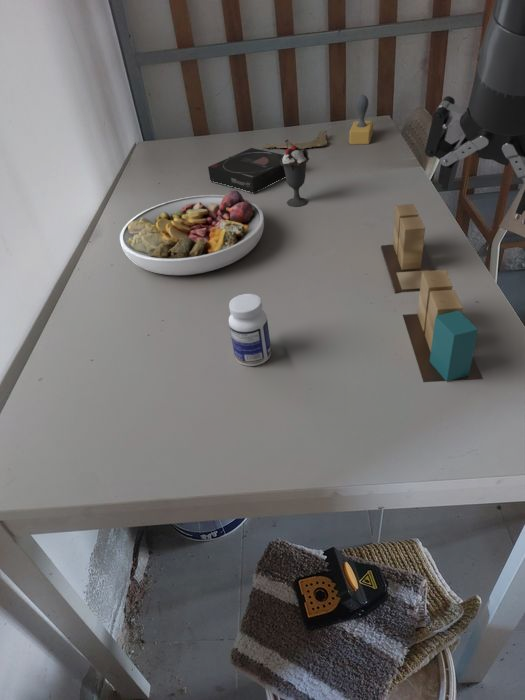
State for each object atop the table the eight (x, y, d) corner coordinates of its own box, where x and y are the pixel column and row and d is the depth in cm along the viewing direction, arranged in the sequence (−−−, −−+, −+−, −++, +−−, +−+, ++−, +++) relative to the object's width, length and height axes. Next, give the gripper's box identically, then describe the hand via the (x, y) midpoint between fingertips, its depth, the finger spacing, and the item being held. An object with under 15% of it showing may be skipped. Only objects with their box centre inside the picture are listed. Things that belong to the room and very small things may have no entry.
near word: (452, 314, 83) (460, 267, 78) (482, 382, 71) (494, 332, 65) (402, 317, 84) (406, 271, 78) (422, 385, 71) (429, 336, 66)
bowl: (186, 300, 94) (177, 262, 89) (99, 255, 112) (87, 221, 107) (294, 235, 110) (292, 200, 105) (203, 204, 127) (197, 173, 122)
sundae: (279, 207, 121) (274, 142, 112) (287, 196, 126) (283, 132, 117) (306, 209, 119) (303, 142, 110) (314, 197, 124) (311, 132, 115)
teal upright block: (450, 355, 75) (458, 310, 70) (468, 375, 71) (478, 329, 66) (429, 361, 74) (435, 316, 69) (446, 381, 71) (454, 335, 66)
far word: (421, 244, 102) (426, 202, 96) (443, 292, 88) (449, 247, 83) (380, 247, 102) (382, 206, 97) (395, 295, 89) (398, 250, 83)
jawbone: (337, 146, 152) (337, 139, 150) (270, 160, 149) (269, 153, 148) (326, 135, 158) (326, 128, 157) (262, 148, 155) (261, 142, 154)
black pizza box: (298, 171, 138) (297, 156, 136) (254, 194, 129) (252, 178, 127) (254, 161, 148) (253, 147, 145) (210, 181, 139) (208, 166, 136)
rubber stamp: (369, 144, 149) (370, 99, 142) (349, 144, 151) (349, 100, 143) (372, 133, 156) (374, 90, 149) (353, 133, 158) (354, 90, 150)
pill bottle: (251, 339, 83) (243, 287, 77) (279, 351, 80) (273, 298, 74) (227, 359, 80) (217, 306, 74) (255, 372, 77) (247, 318, 71)
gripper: (627, 54, 43) (560, 193, 57) (462, 21, 48) (438, 156, 63) (596, 112, 41) (534, 242, 55) (426, 71, 46) (410, 199, 60)
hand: (483, 196), depth 59 cm, fingers open, 8 cm apart
